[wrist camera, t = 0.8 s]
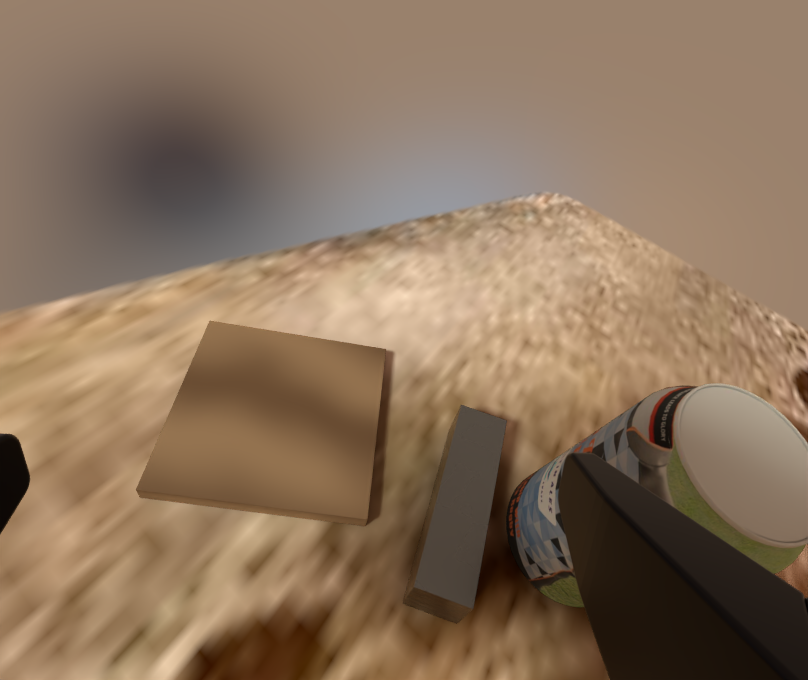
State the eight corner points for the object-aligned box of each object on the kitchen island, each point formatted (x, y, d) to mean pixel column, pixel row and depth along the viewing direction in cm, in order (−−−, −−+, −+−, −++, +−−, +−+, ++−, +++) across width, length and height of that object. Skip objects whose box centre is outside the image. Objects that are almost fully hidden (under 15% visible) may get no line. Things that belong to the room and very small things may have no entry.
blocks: (723, 724, 20) (767, 718, 19) (402, 603, 21) (413, 586, 19) (698, 518, 26) (729, 498, 24) (449, 430, 27) (461, 404, 25)
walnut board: (365, 526, 23) (367, 519, 22) (140, 497, 22) (135, 489, 21) (383, 357, 30) (386, 349, 29) (211, 330, 29) (209, 320, 28)
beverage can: (548, 462, 27) (679, 308, 18) (664, 579, 24) (891, 463, 15) (467, 532, 24) (578, 385, 15) (589, 678, 21) (823, 604, 12)
